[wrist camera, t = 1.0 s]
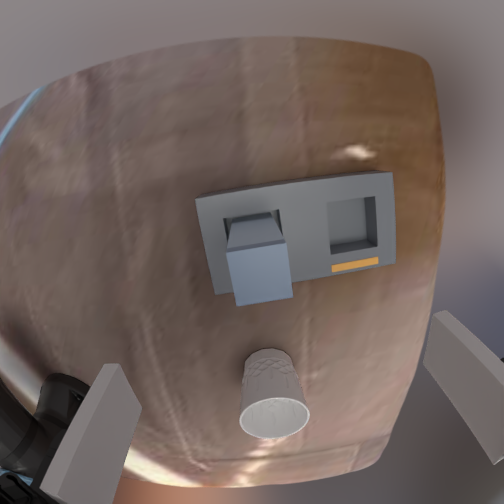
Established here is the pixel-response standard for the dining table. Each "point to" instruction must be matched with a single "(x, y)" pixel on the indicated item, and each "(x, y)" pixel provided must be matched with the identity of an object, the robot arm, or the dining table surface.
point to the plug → (258, 260)
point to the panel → (309, 223)
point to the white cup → (271, 396)
